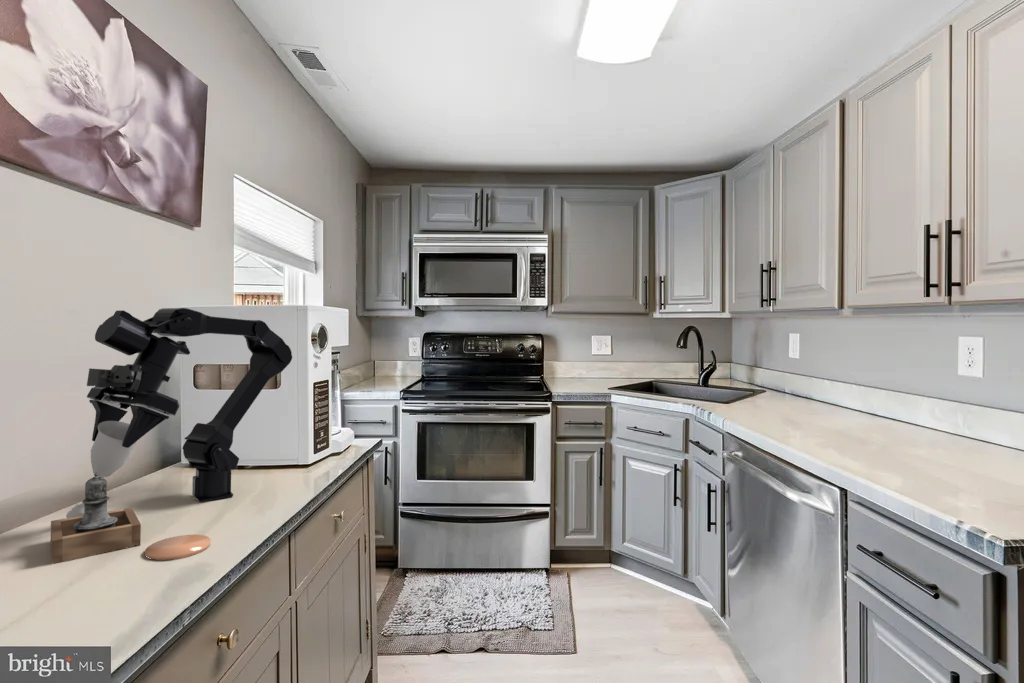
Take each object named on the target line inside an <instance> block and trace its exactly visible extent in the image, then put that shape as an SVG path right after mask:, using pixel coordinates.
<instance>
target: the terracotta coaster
mask: <svg viewBox="0 0 1024 683" xmlns="http://www.w3.org/2000/svg"><path fill="white" fill-rule="evenodd" d="M210 546H211V538H210V537H209V536H207V535H203V534H183V535H175V536H173V537H171V536H170V537H169V538H168V537H167V538H164V539H161V540H158V541H155V542H153V543H152V544H150V545H148V546H147V547H146V548H145V550H144V551H145V552H144V556H145V555H146V556H147V557H149V558H151V559H150V560H152V559H156V560H155V561H173V560H179V559H183V558H189V557H192V556H196V555H197V554H200V553H202V552H203V551H206V550H207V549H208V548H209V547H210ZM146 556H145V557H146ZM147 557H146V558H147ZM149 558H148V559H149Z"/></svg>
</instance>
